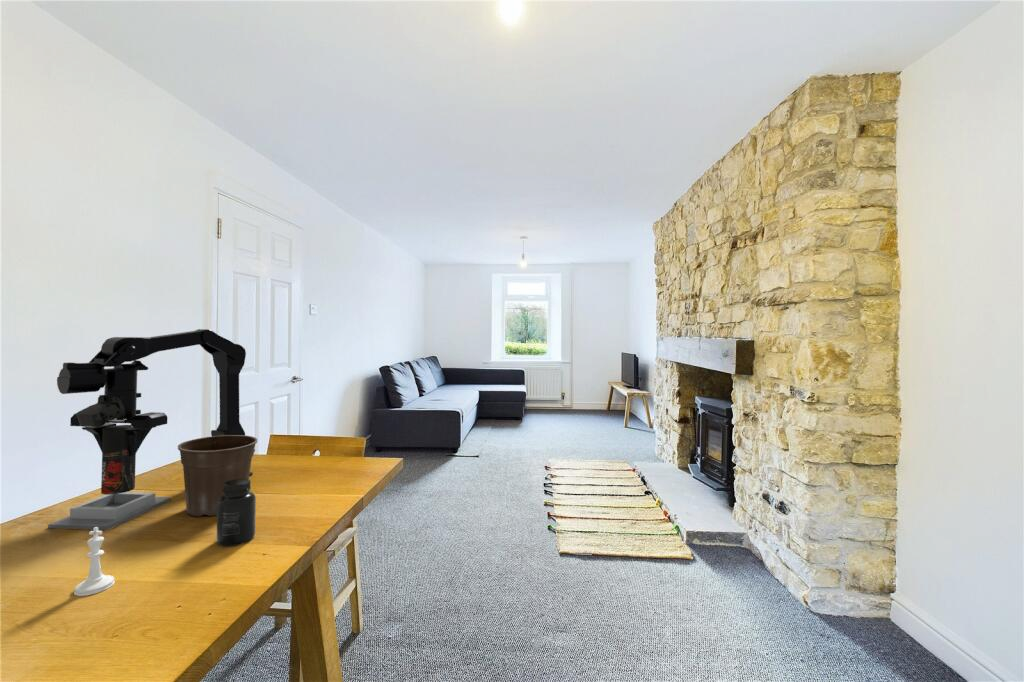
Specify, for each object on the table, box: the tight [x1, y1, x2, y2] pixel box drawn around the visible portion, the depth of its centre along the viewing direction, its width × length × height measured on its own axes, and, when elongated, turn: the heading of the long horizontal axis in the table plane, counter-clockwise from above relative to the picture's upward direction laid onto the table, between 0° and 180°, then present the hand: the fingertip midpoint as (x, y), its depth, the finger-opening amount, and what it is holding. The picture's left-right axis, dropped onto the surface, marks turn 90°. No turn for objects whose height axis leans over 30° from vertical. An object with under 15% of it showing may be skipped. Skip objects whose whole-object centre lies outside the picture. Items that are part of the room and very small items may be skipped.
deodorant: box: [100, 424, 137, 495], centre depth 103 cm, size 6×6×15 cm
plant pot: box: [177, 434, 258, 517], centre depth 106 cm, size 16×16×16 cm
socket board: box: [47, 491, 172, 531], centre depth 101 cm, size 13×17×3 cm
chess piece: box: [73, 527, 115, 597], centre depth 72 cm, size 5×5×10 cm
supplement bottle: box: [216, 478, 257, 547], centre depth 90 cm, size 7×7×12 cm
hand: (119, 455), depth 103 cm, fingers closed on deodorant, 6 cm apart
